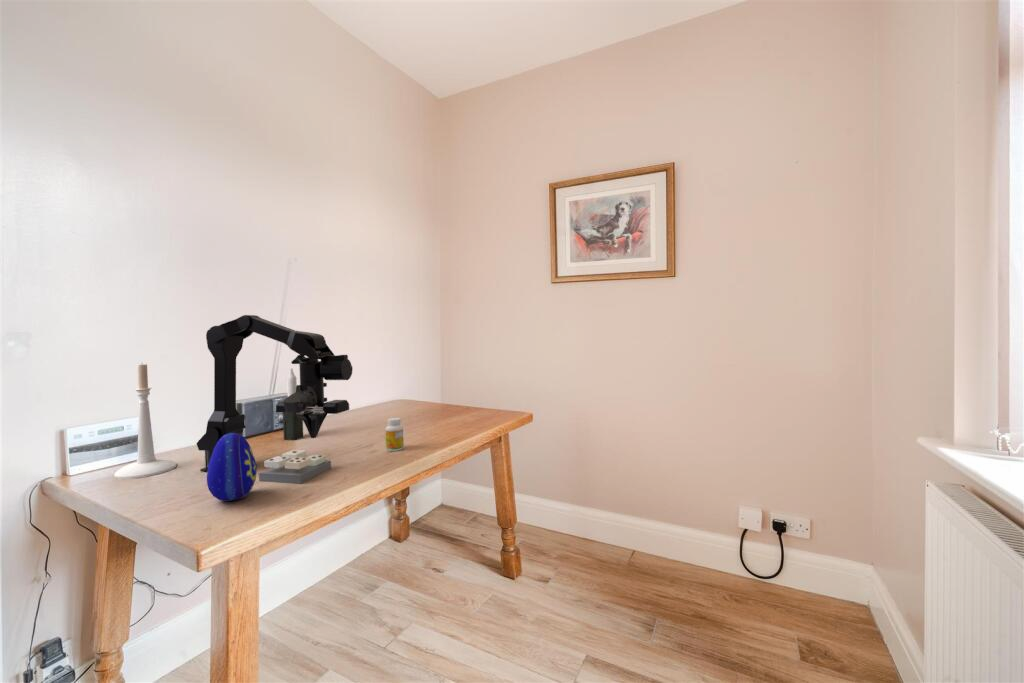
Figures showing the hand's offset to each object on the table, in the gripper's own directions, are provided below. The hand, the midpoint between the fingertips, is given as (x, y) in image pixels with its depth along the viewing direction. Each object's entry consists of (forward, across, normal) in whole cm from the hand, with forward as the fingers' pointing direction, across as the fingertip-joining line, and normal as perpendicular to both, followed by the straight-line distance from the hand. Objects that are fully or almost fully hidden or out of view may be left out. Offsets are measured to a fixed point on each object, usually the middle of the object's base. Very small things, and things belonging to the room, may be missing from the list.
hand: (313, 437), depth 111 cm
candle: (+9, -31, +30) cm, 44 cm away
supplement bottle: (+9, +12, +22) cm, 27 cm away
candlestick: (+9, -47, -8) cm, 49 cm away
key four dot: (+6, 0, -6) cm, 8 cm away
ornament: (+9, -6, -20) cm, 22 cm away
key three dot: (+7, 0, 0) cm, 7 cm away
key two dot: (+6, -6, -6) cm, 10 cm away
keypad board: (+9, -3, -3) cm, 10 cm away
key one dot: (+6, -6, 0) cm, 8 cm away
